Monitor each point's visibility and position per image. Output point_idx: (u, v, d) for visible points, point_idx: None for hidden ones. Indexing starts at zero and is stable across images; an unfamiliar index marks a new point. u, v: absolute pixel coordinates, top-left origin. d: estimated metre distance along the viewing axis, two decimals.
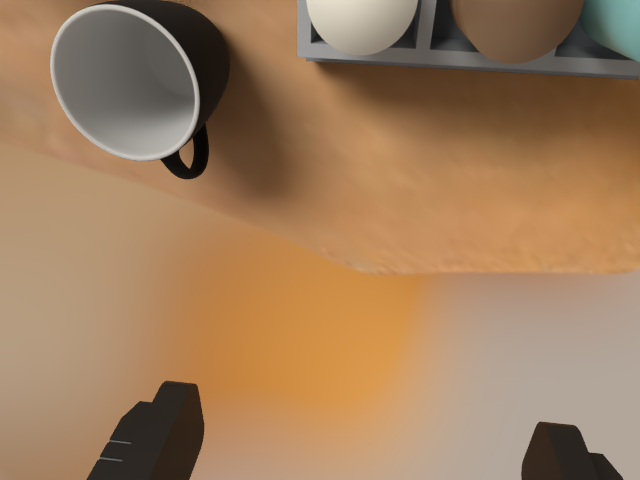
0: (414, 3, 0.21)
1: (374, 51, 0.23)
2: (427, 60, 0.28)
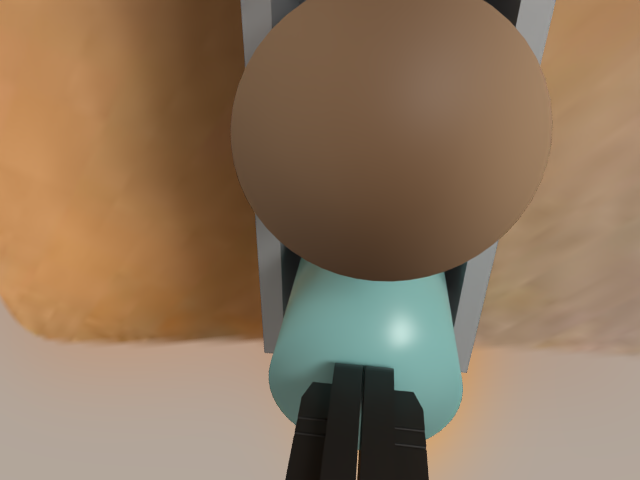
0: None
1: None
2: None
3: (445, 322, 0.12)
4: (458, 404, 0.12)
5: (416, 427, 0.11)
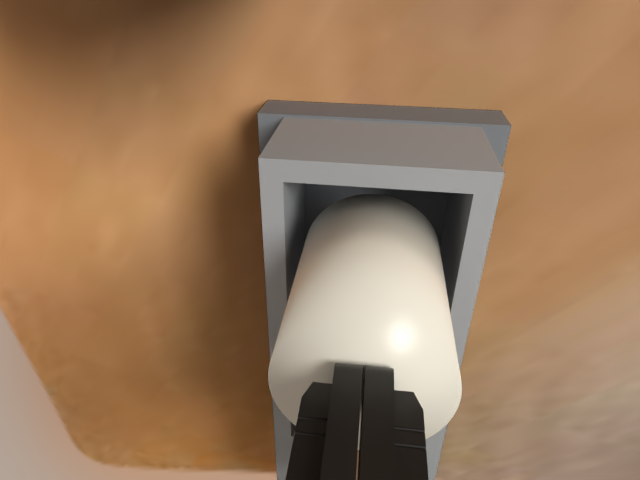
0: None
1: (277, 400, 0.13)
2: (273, 337, 0.20)
3: None
4: None
5: (416, 427, 0.11)
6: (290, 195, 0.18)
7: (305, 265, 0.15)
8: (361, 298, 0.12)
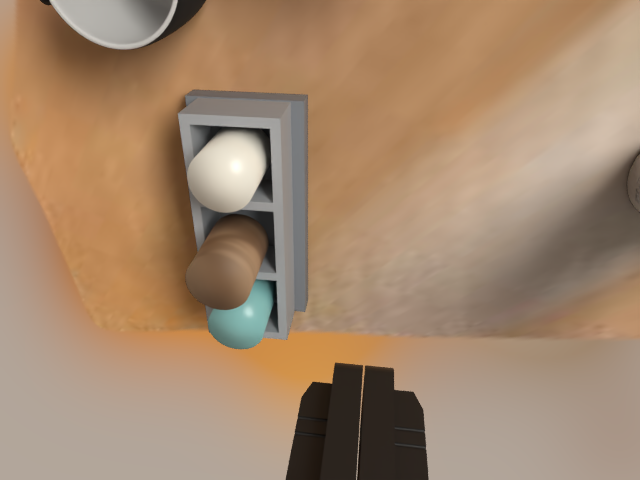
0: (221, 210, 0.36)
1: (191, 190, 0.36)
2: (193, 205, 0.40)
3: (260, 308, 0.42)
4: (263, 332, 0.42)
5: (416, 427, 0.11)
6: (197, 133, 0.38)
7: None
8: (216, 146, 0.34)
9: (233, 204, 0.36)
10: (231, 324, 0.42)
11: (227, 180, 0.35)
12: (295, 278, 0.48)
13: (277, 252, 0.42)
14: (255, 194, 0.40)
